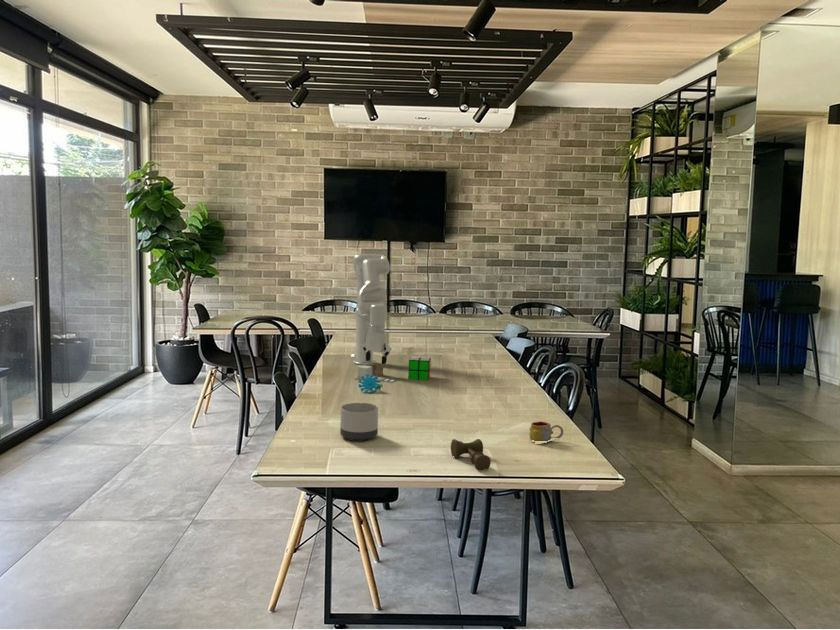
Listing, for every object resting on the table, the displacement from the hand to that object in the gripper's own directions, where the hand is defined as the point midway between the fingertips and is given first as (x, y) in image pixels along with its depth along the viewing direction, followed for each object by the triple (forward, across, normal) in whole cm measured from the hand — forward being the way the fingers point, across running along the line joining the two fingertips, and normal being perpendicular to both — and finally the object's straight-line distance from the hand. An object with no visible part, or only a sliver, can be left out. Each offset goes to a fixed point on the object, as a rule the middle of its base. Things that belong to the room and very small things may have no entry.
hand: (375, 362), depth 321 cm
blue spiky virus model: (+5, +19, -31) cm, 36 cm away
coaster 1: (+6, +2, -12) cm, 14 cm away
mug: (+1, +109, -52) cm, 121 cm away
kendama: (+1, +96, -85) cm, 128 cm away
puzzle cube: (+6, +21, +8) cm, 23 cm away
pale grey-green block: (+6, +2, -12) cm, 14 cm away
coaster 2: (+6, +13, -7) cm, 16 cm away
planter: (+2, +54, -87) cm, 102 cm away
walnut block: (+7, +1, -1) cm, 7 cm away
